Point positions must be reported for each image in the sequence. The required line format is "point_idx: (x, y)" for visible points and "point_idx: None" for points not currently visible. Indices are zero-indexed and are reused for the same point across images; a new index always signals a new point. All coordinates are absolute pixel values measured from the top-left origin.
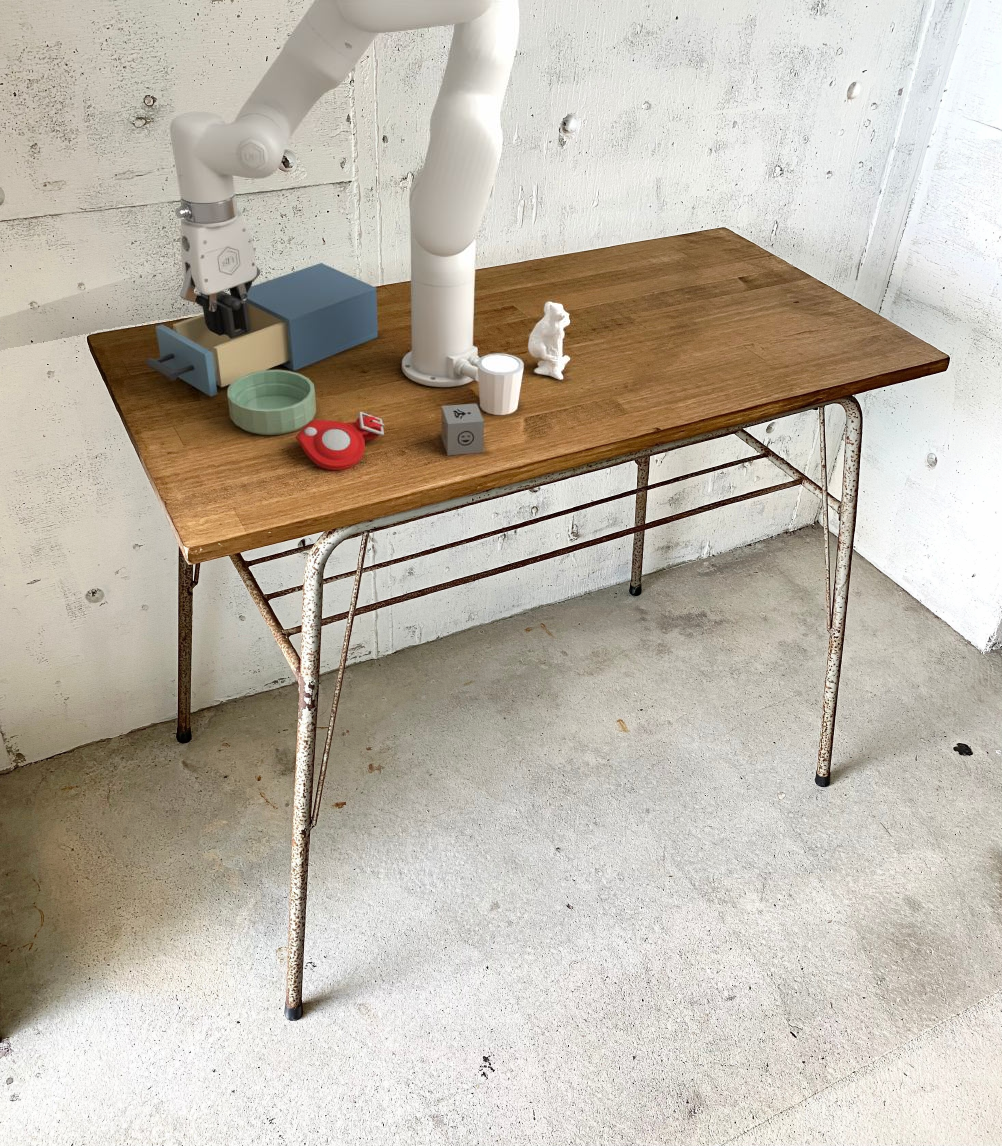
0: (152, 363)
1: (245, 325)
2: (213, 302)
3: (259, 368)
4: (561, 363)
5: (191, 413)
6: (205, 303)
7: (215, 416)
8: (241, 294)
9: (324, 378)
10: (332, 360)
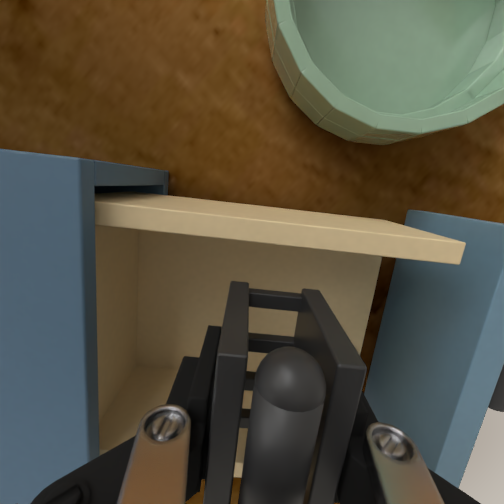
0: None
1: (248, 297)
2: (403, 474)
3: (258, 206)
4: None
5: (489, 205)
6: (441, 496)
7: (471, 146)
8: (178, 443)
9: (136, 71)
10: (50, 134)
